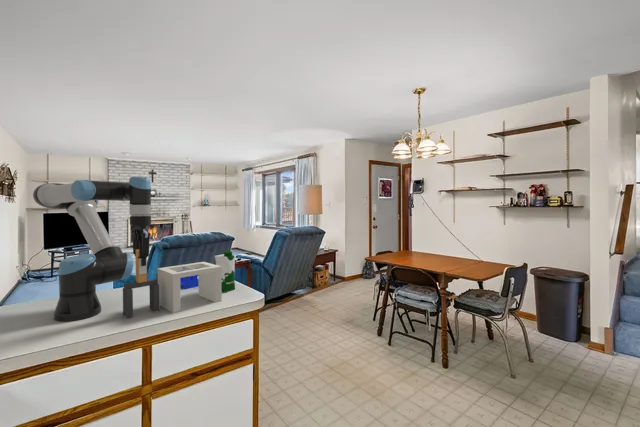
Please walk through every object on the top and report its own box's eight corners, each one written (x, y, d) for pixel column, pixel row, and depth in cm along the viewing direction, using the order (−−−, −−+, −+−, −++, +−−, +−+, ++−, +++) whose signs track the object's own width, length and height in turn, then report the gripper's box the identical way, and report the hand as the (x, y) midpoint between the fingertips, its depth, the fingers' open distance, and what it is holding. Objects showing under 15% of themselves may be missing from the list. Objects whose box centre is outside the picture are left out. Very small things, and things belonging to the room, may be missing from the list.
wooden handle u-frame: (127, 318, 125) (126, 252, 124) (123, 315, 129) (122, 250, 128) (159, 310, 134) (158, 248, 133) (154, 308, 138) (154, 247, 137)
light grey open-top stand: (173, 312, 132) (173, 274, 131) (157, 304, 143) (157, 268, 142) (221, 300, 148) (221, 266, 148) (204, 293, 159) (204, 261, 158)
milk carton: (224, 293, 161) (224, 253, 160) (212, 290, 165) (212, 251, 164) (237, 289, 168) (237, 251, 167) (225, 286, 173) (225, 249, 172)
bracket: (185, 289, 167) (184, 272, 167) (177, 286, 172) (177, 270, 172) (215, 282, 181) (215, 267, 180) (207, 280, 186) (207, 265, 186)
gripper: (158, 215, 127) (158, 274, 128) (143, 214, 138) (143, 268, 139) (137, 216, 122) (138, 277, 123) (123, 214, 133) (124, 271, 134)
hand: (141, 272), depth 131 cm, fingers closed on wooden handle u-frame, 3 cm apart
